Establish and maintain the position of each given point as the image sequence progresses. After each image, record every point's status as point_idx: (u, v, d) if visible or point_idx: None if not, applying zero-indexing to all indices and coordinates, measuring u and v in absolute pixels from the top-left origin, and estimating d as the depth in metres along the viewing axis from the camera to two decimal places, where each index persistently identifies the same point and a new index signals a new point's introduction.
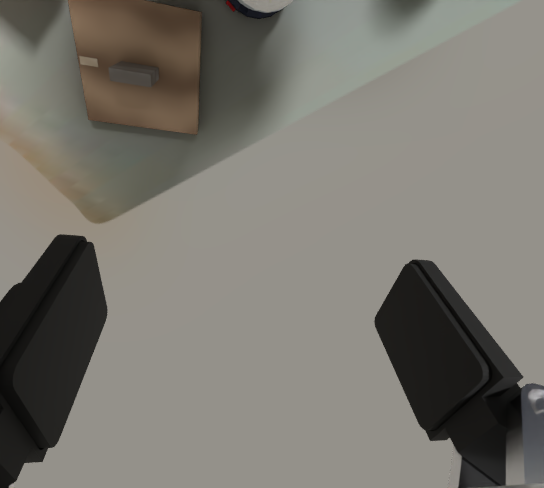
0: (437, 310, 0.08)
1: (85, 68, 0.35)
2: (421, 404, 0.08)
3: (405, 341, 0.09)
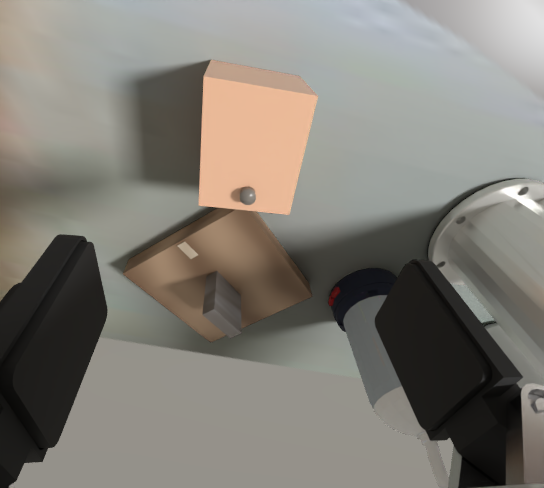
0: (437, 310, 0.08)
1: (177, 250, 0.27)
2: (421, 404, 0.08)
3: (404, 341, 0.09)
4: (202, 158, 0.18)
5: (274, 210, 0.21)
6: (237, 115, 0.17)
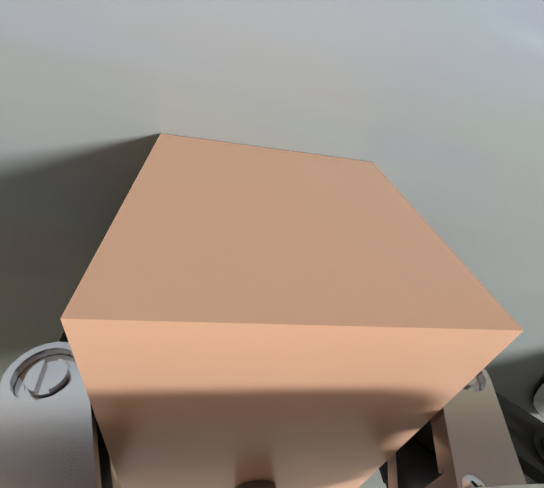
0: None
1: None
2: None
3: None
4: (119, 465, 0.06)
5: None
6: (224, 392, 0.05)
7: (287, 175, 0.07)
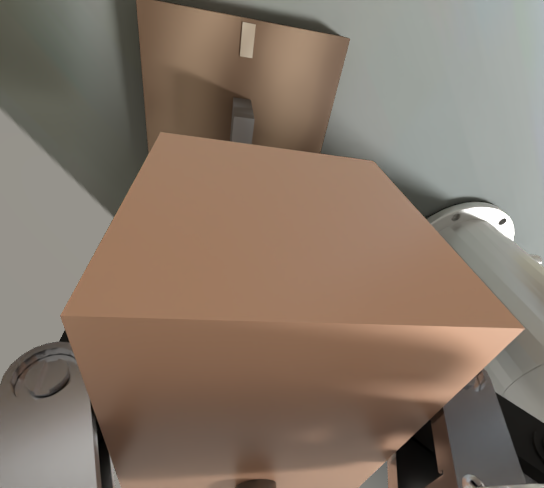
0: None
1: (235, 28, 0.19)
2: None
3: None
4: (119, 464, 0.06)
5: None
6: (224, 390, 0.05)
7: (287, 173, 0.07)
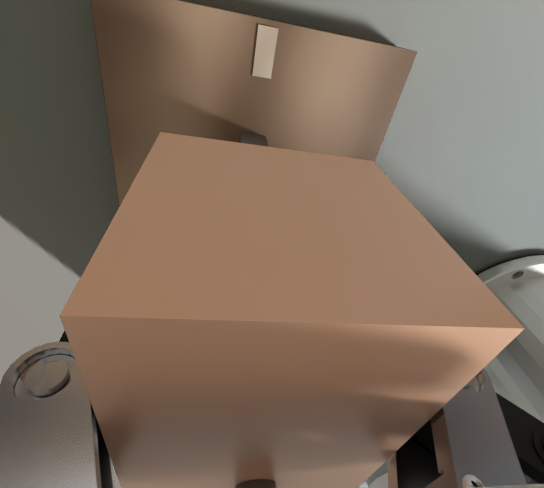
0: None
1: (247, 34, 0.12)
2: None
3: None
4: (119, 464, 0.06)
5: None
6: (224, 390, 0.05)
7: (287, 173, 0.07)
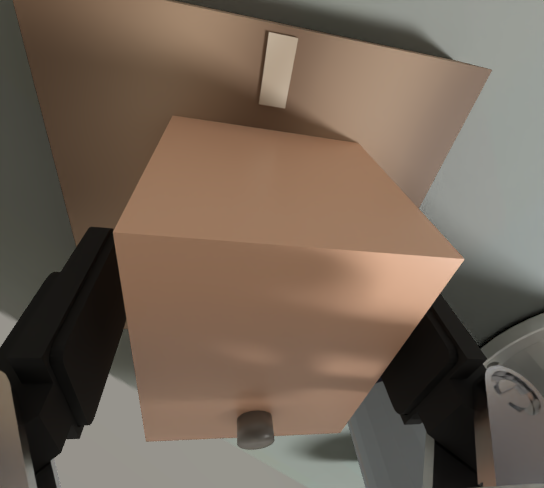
0: None
1: (252, 47, 0.08)
2: (395, 389, 0.09)
3: None
4: (142, 384, 0.07)
5: (310, 431, 0.10)
6: (230, 309, 0.06)
7: (282, 150, 0.09)
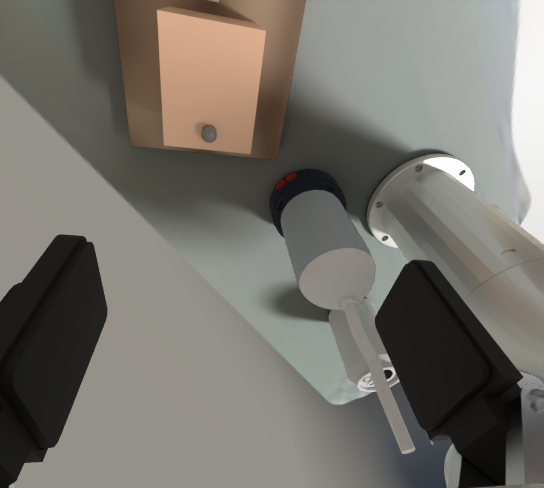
0: (437, 310, 0.08)
1: None
2: (421, 404, 0.08)
3: (405, 340, 0.09)
4: (163, 95, 0.19)
5: (236, 149, 0.22)
6: (192, 50, 0.18)
7: (216, 16, 0.21)
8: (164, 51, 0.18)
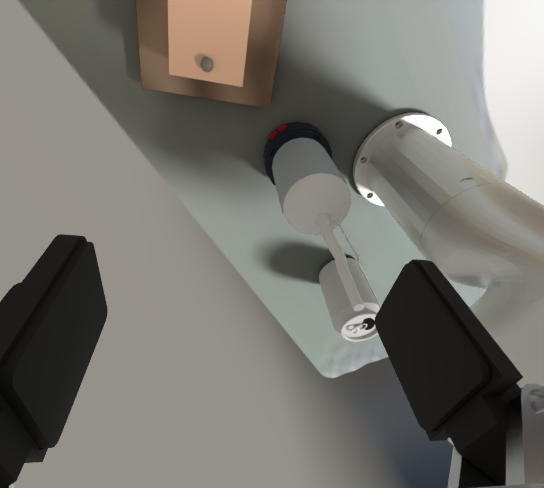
0: (437, 310, 0.08)
1: None
2: (421, 404, 0.08)
3: (404, 341, 0.09)
4: (169, 27, 0.23)
5: (230, 82, 0.26)
6: None
7: None
8: None
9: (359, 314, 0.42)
